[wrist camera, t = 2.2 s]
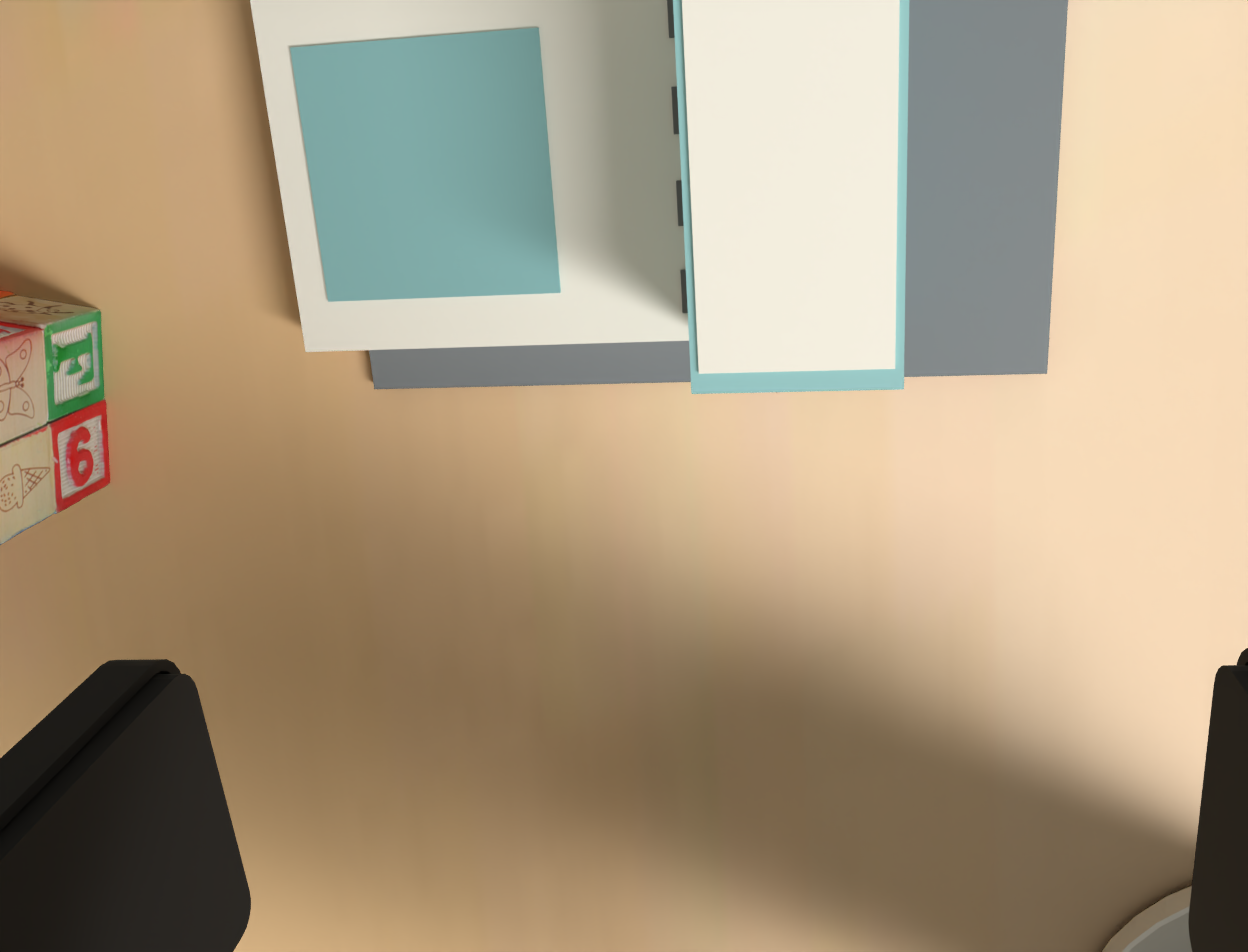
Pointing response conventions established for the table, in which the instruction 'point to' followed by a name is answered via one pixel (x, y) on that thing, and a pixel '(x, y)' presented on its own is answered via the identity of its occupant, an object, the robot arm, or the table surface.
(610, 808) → the table surface
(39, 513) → the stack of blocks
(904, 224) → the teal rectangular block
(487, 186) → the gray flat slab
